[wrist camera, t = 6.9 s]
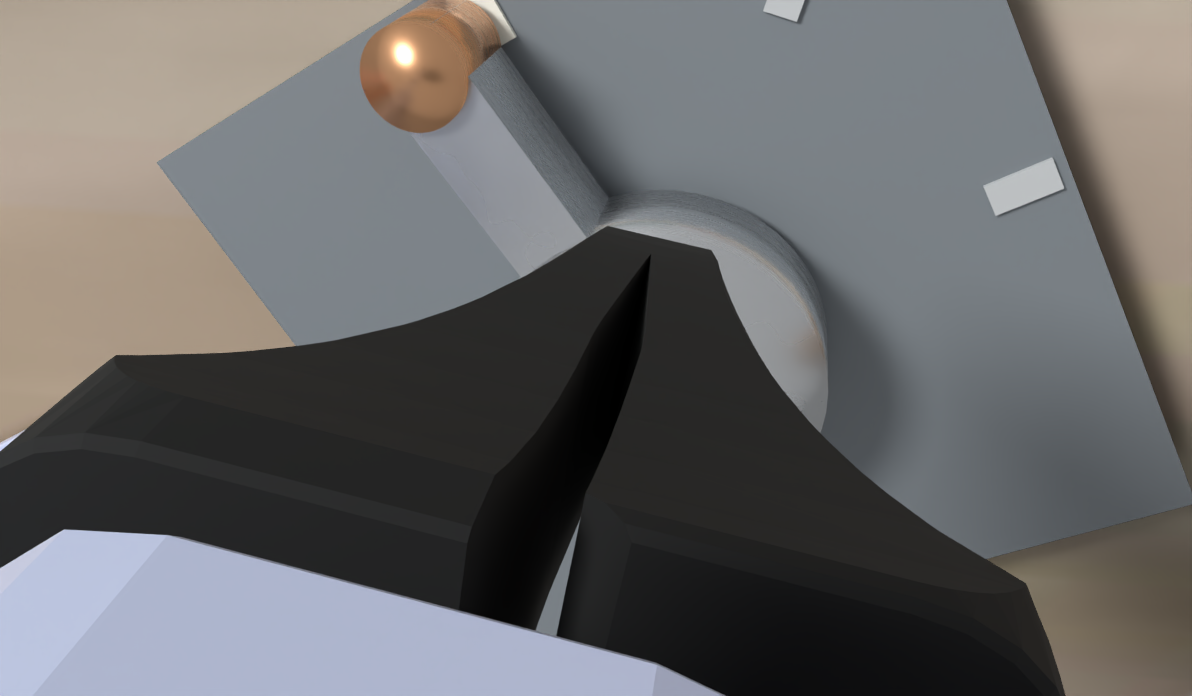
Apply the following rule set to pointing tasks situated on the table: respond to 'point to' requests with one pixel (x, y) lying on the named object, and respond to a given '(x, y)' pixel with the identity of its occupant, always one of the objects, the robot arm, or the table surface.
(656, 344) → the robot arm
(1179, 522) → the table surface
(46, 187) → the table surface
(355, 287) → the dial board
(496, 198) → the dial
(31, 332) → the table surface
